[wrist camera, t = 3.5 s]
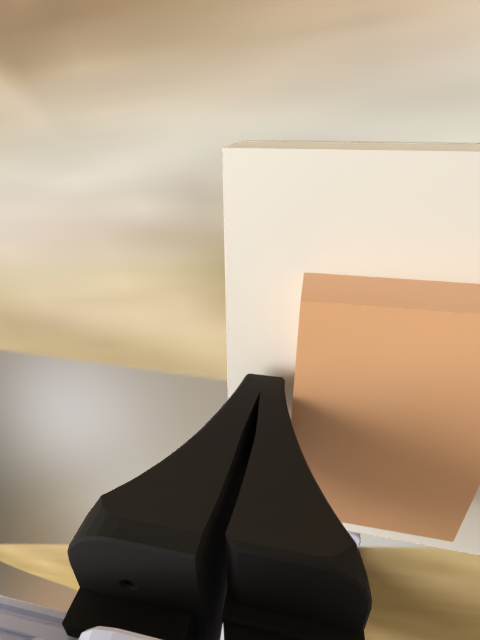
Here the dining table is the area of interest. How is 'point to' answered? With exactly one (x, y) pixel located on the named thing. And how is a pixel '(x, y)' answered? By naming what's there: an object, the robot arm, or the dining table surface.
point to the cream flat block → (340, 244)
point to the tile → (390, 399)
